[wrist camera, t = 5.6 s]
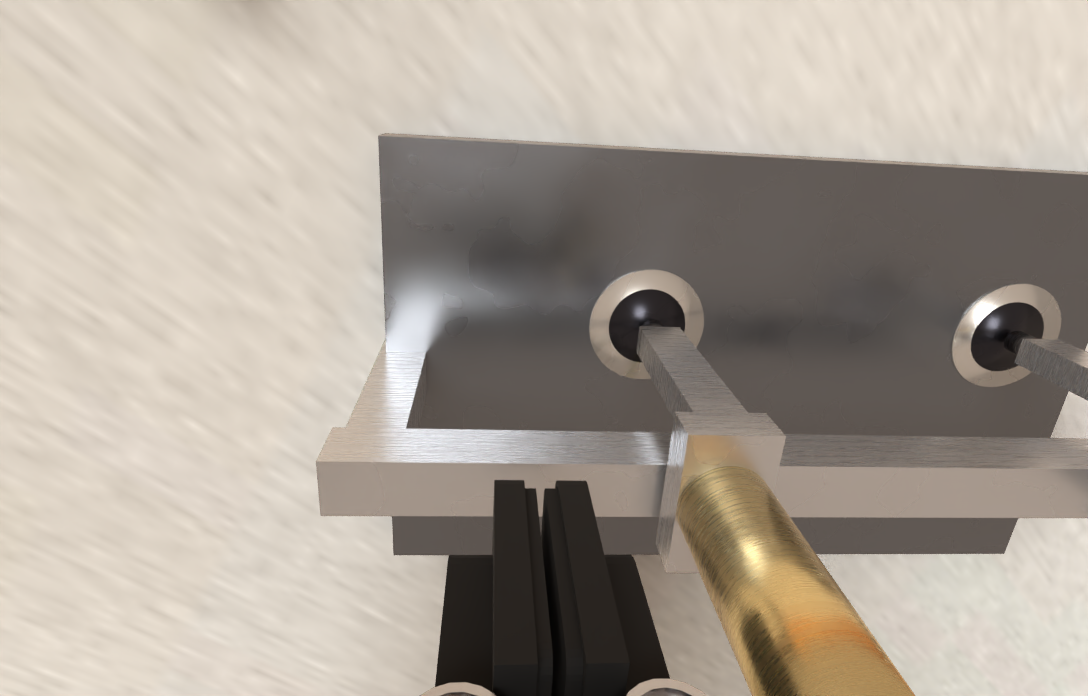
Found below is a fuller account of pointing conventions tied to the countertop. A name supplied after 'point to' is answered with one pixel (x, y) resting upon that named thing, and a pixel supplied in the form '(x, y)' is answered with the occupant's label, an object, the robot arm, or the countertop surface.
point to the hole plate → (728, 302)
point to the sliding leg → (751, 539)
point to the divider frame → (641, 457)
